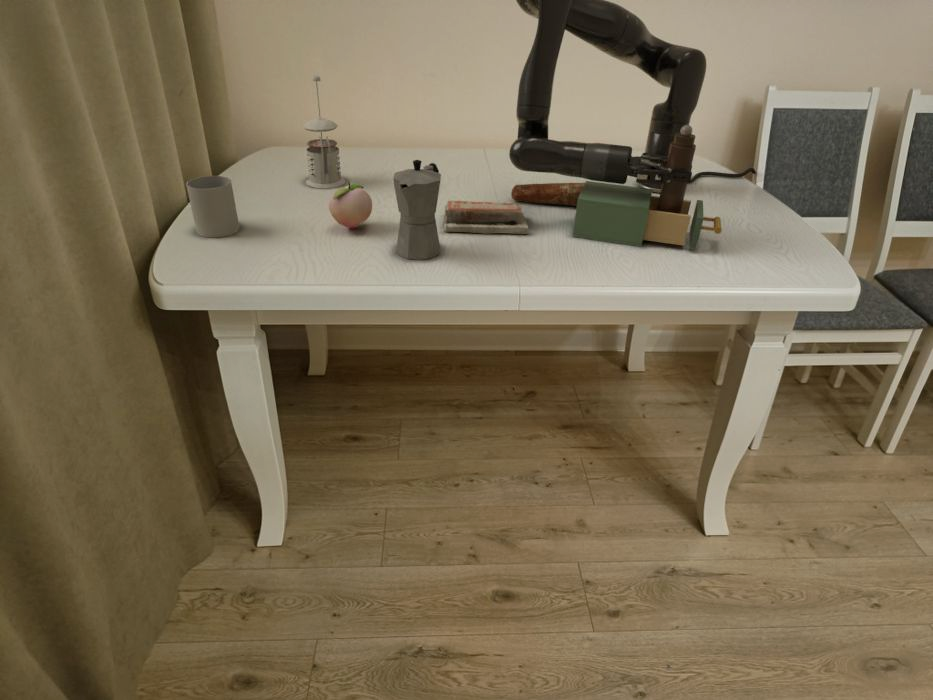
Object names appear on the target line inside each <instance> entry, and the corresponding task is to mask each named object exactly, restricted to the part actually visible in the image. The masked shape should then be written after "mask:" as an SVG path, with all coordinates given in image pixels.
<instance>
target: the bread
mask: <svg viewBox="0 0 933 700" xmlns="http://www.w3.org/2000/svg"><path fill="white" fill-rule="evenodd" d="M584 185H585V182H551V183H549V182H547V183H528V184H527V183H526V184H516V185H514V186H513V187H512V189H511V198H512V200H513V201H516V202H525V203H535V204H544V205H545V204H547V205H561V206H571V207H577V201H578V197H579V195H580V193H581V191H582V189H583V187H584Z"/></svg>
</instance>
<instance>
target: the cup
mask: <svg viewBox="0 0 933 700" xmlns="http://www.w3.org/2000/svg"><path fill="white" fill-rule="evenodd" d="M232 183H233V182H232V179H231V178H229V177H227V176H222V175H205V176H199V177H195V178H191V179H190V180H188V181H187V182H186V189H187V194H188V198H189V203H190V208H191V212H192V217H193V221H194V225H195V231H196V234H198V235H199V236H200V237H204V238H223V237H227V236H230V235H233V234H235V233H237V232H238V231H240V223H239V216H238V211H237V207H236V200H235V195H234V190H233V184H232Z"/></svg>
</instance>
